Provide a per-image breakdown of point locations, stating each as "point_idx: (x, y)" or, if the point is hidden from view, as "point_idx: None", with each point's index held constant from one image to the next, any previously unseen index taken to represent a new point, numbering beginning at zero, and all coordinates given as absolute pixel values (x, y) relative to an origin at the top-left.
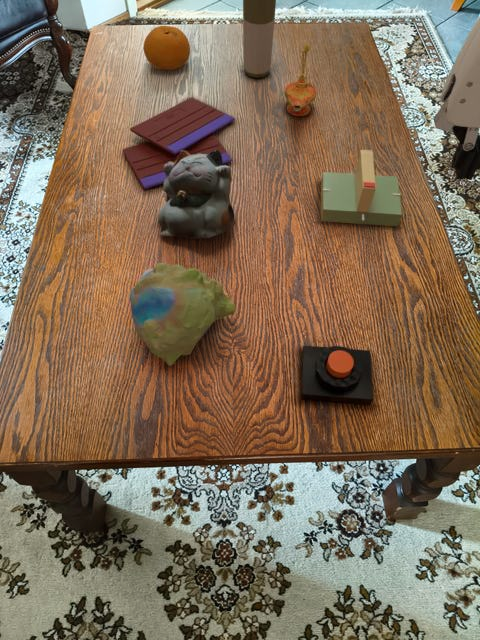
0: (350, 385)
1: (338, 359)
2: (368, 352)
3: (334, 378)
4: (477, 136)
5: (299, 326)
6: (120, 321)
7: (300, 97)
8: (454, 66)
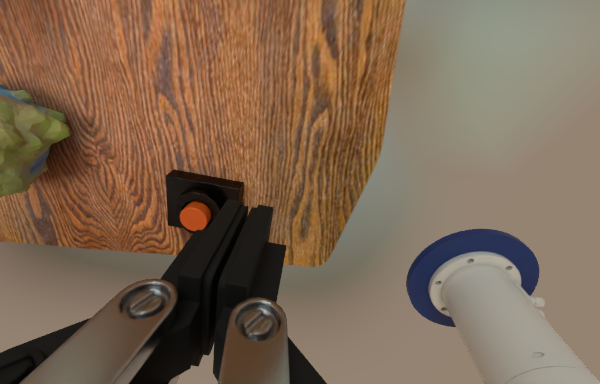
0: None
1: (190, 217)
2: (237, 191)
3: None
4: (232, 293)
5: (169, 136)
6: None
7: None
8: None
